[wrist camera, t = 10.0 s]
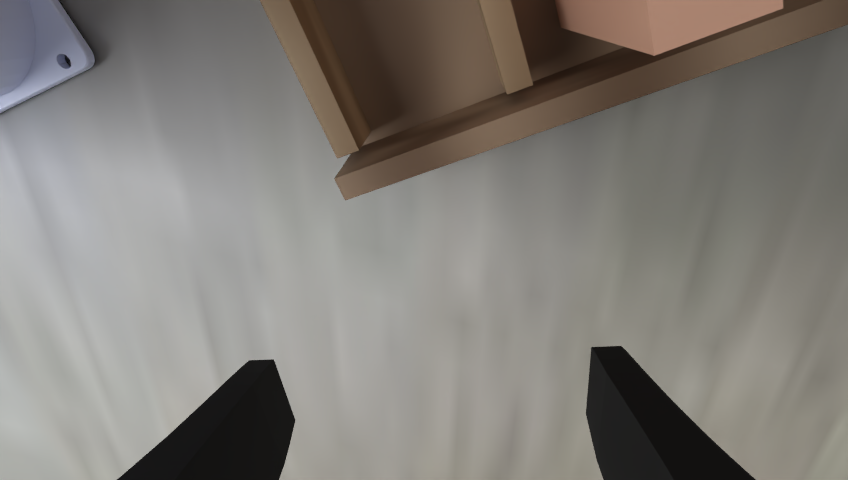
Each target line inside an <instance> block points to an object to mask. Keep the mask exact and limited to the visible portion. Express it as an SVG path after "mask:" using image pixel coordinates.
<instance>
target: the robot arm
mask: <svg viewBox="0 0 848 480" xmlns="http://www.w3.org/2000/svg"><path fill="white" fill-rule="evenodd" d="M65 55H66V56H67V57H68V58H69V59H70V61H71V66H69V65H68V64H67V63H66V60H65ZM94 62H95V59H94V54H93V52H92V50H91V49H90V47H89V46H88V44H87V43H86V41H85V40H84V38H83V37H82V35H81V34H80V32H79V31H78V29H77V28H76V26H75V25H74V23H73V22H72V20H71V19H70V17H69V16H68V14H67V13H66V11H65V10H64V8H63V7H62V5H61V4H60V2H59V1H58V0H0V113H2V112H4V111H6V110H8V109H10V108H12V107H14V106H16V105H18V104H20V103H22V102H24V101H26V100H28V99H30V98H32V97H34V96H36V95H38V94H40V93H42V92H44V91H46V90H48V89H50V88H52V87H54V86H56V85H58V84H60V83H62V82H64V81H66V80H68V79H70V78H72V77H74V76H76V75H78V74H80V73H82V72H84V71H86V70H88V69H90V68H91V67H92V66H93V65H94ZM586 416H587V420H588V424H589V429H590V433H591V438H592V442H593V446H594V450H595V454H596V458H597V462H598V465H599V468H600V471H601V473H602V476H603V479H604V480H755V479H754V478H753V477H752V476H751V475H750V474H749V473H747V472H746V471H745V470H744V469H743V468H742V467H741V466H740V465H739V464H738V463H736V462H735V461H734V460H733V459H732V458H731V457H730V456H729V455H728V454H727V453H725V452H724V451H723V450H722V449H721V448H720V447H719V446H718V445H717V444H716V443H715V442H714V441H713V440H712V439H711V438H710V437H708V436H707V435H706V434H705V433H704V432H703V431H702V430H701V429H700V428H699V427H698V426H697V425H696V424H695V423H694V422H693V421H692V420H691V419H690V418H689V417H688V416H687V415H686V414H685V413H684V412H683V411H682V410H681V409H680V408H679V407H678V406H677V405H676V404H675V403H674V402H673V401H672V400H671V399H670V398H669V397H668V396H667V395H666V393H665V392H664V391H663V390H662V389H661V388H660V387H659V386H658V385H657V384H656V383H655V382H654V381H653V380H652V379H651V378H650V376H649V375H648V374H647V373H646V372H645V371H644V370H643V369H642V368H641V367H640V366H639V364H638V363H637V362H636V361H635V360H634V359H633V358H632V357H631V356H630V355H629V353H628V352H627V351H626V350H625V349H624V348H623V347H621V346H610V347H591V360H590V372H589V384H588V396H587V408H586ZM294 423H295V418H294V415H293V413H292V410H291V407H290V404H289V401H288V398H287V396H286V393H285V390H284V387H283V384H282V382H281V379H280V376H279V373H278V370H277V367H276V365H275V362H274V360H250V361H248V362H247V363H246V364H245V365H243V366H242V367H241V368H240V369H239V370H238V371H237V372H236V373H235V374H234V375H232V376H231V377H230V378H229V379H228V380H227V381H226V382H225V383H224V384H223V385H222V386H221V387H220V388H219V389H218V390H217V391H216V392H214V393H213V394H212V395H211V396H210V397H209V398H208V399H207V400H206V401H205V402H204V403H203V404H202V405H201V406H200V407H199V408H197V409H196V410H195V411H194V412H193V413H192V414H191V415H190V416H189V417H188V418H187V419H186V420H185V421H183V422H182V423H181V424H180V425H179V426H178V427H177V428H176V429H175V430H174V431H173V432H172V433H171V434H169V435H168V436H167V437H166V438H165V439H164V440H163V441H161V442H160V443H159V444H158V445H157V446H156V447H155V448H153V449H152V450H151V451H150V452H149V453H148V454H146V455H145V456H144V457H143V458H142V459H141V460H140V461H138V462H137V463H136V464H135V465H134V466H133V467H131V468H130V469H129V470H128V471H127V472H126V473H125V474H123V475H122V476H121V477H120V478H119V479H117V480H279V477H280V475H281V472H282V469H283V467H284V464H285V460H286V456H287V452H288V448H289V445H290V440H291V436H292V432H293V428H294Z"/></svg>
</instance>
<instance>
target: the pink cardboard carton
mask: <svg viewBox="0 0 848 480" xmlns="http://www.w3.org/2000/svg"><path fill="white" fill-rule="evenodd" d="M555 4H556V8H557V13H558V17H559V22H560V26H561V28H564V29H567V30H570V31H574V32H577V33H580V34H584V35H587V36H590V37H594V38H597V39H600V40H604V41H607V42H610V43H614V44H617V45H620V46H624V47H627V48H630V49H634V50H637V51H640V52H643V53H647V54H650V55H653V56H655V55H658V54H661V53H663V52H666V51H669V50H671V49H674V48H677V47H680V46H682V45H685V44H688V43H690V42H693V41H696V40H699V39H701V38H704V37H707V36H709V35H712V34H715V33H718V32H720V31H723V30H726V29H728V28H731V27H734V26H737V25H739V24H742V23H745V22H747V21H750V20H753V19H756V18H758V17H761V16H764V15H766V14H769V13H772V12H775V11H777V10H780V9H783V0H555Z"/></svg>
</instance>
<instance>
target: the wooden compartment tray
mask: <svg viewBox="0 0 848 480" xmlns="http://www.w3.org/2000/svg"><path fill="white" fill-rule="evenodd" d="M260 2H261V4H262V6H263V8H264V10H265V12H266V14H267V16H268V18H269V20H270V22H271V24H272V26H273V28H274V30H275V32H276V35H277V37H278V39H279V41H280V43H281V45H282V47H283V49H284V51H285V53H286V55H287V57H288V59H289V61H290V63H291V65H292V67H293V69H294V71H295V73H296V75H297V77H298V79H299V81H300V83H301V85H302V87H303V90H304V92H305V94H306V96H307V98H308V100H309V102H310V104H311V106H312V108H313V110H314V112H315V114H316V116H317V118H318V120H319V122H320V124H321V126H322V128H323V130H324V132H325V134H326V136H327V138H328V140H329V142H330V145H331V147H332V149H333V151H334V153H335V155H336V157H337V158H340V157H343V156H345V155H348V154H351V155H350V156H349V158H348V159H347V161H346V162H345V164H344V165H343V167H342V168H341V170H340V171H339V172H338V174H337V175H336V177H335V178H334V179H335V181H336V183H337V185H338V187H339V189H340V191H341V193H342V195H343V197H344V199H345V200H348V199H351V198H353V197H356V196H359V195H362V194H365V193H368V192H371V191H373V190H376V189H379V188H382V187H385V186H388V185H391V184H393V183H396V182H399V181H402V180H405V179H408V178H411V177H413V176H416V175H419V174H422V173H425V172H428V171H431V170H433V169H436V168H439V167H442V166H445V165H448V164H451V163H453V162H456V161H459V160H462V159H465V158H468V157H471V156H473V155H476V154H479V153H482V152H485V151H488V150H491V149H493V148H496V147H499V146H502V145H505V144H508V143H511V142H513V141H516V140H519V139H522V138H525V137H528V136H531V135H533V134H536V133H539V132H542V131H545V130H548V129H551V128H553V127H556V126H559V125H562V124H565V123H568V122H571V121H573V120H576V119H579V118H582V117H585V116H588V115H591V114H593V113H596V112H599V111H602V110H605V109H608V108H611V107H613V106H616V105H619V104H622V103H625V102H628V101H631V100H633V99H636V98H639V97H642V96H645V95H648V94H651V93H653V92H656V91H659V90H662V89H665V88H668V87H670V86H673V85H676V84H679V83H682V82H685V81H688V80H690V79H693V78H696V77H699V76H702V75H705V74H708V73H710V72H713V71H716V70H719V69H722V68H725V67H728V66H730V65H733V64H736V63H739V62H742V61H745V60H748V59H750V58H753V57H756V56H759V55H762V54H765V53H768V52H770V51H773V50H776V49H779V48H782V47H785V46H788V45H790V44H793V43H796V42H799V41H802V40H805V39H808V38H810V37H813V36H816V35H819V34H822V33H825V32H828V31H830V30H833V29H836V28H839V27H842V26H845V25H848V0H783V9H780V10H777V11H775V12H772V13H769V14H766V15H764V16H761V17H758V18H756V19H753V20H750V21H747V22H745V23H742V24H739V25H737V26H734V27H731V28H728V29H726V30H723V31H720V32H718V33H715V34H712V35H709V36H707V37H704V38H701V39H699V40H696V41H693V42H690V43H688V44H685V45H682V46H680V47H677V48H674V49H671V50H669V51H666V52H663V53H661V54H658V55H655V56H653V55H650V54H647V53H643V52H640V51H637V50H634V49H630V48H627V47H624V46H620V45H617V44H614V43H610V42H607V41H604V40H600V39H597V38H594V37H590V36H587V35H584V34H580V33H577V32H574V31H570V30H567V29H564V28H561V26H560V22H559V17H558V13H557V8H556V4H555V0H260Z"/></svg>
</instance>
